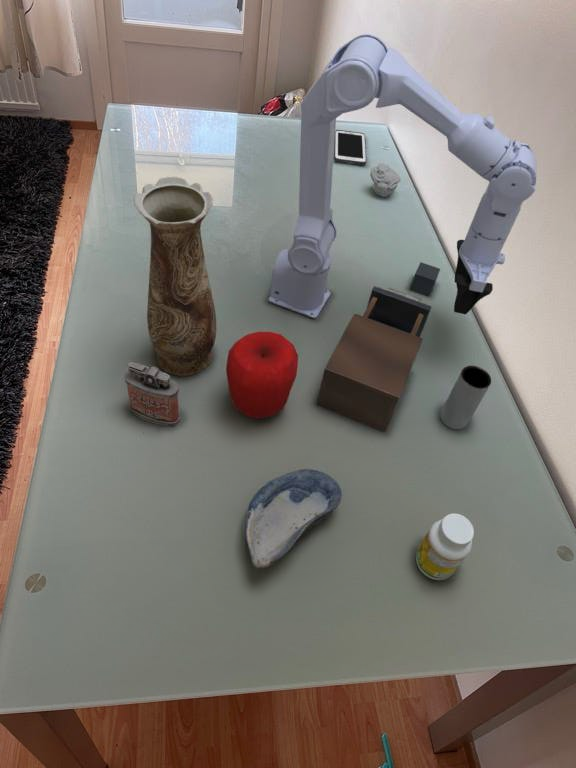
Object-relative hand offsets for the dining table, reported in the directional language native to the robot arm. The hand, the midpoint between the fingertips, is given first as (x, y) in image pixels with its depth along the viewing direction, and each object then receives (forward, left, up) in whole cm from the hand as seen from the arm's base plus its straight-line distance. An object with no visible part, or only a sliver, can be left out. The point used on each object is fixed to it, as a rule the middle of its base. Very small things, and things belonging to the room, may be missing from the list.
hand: (460, 296), depth 99 cm
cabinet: (-9, -18, -10) cm, 23 cm away
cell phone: (-37, +54, -10) cm, 66 cm away
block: (-7, +12, -10) cm, 17 cm away
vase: (-38, -26, -10) cm, 47 cm away
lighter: (-36, -38, -10) cm, 53 cm away
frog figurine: (-24, +39, -10) cm, 47 cm away
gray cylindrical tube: (+6, -17, -10) cm, 21 cm away
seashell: (-10, -46, -10) cm, 48 cm away
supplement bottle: (+9, -42, -10) cm, 44 cm away
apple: (-23, -29, -10) cm, 38 cm away
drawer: (-9, -6, -9) cm, 14 cm away
